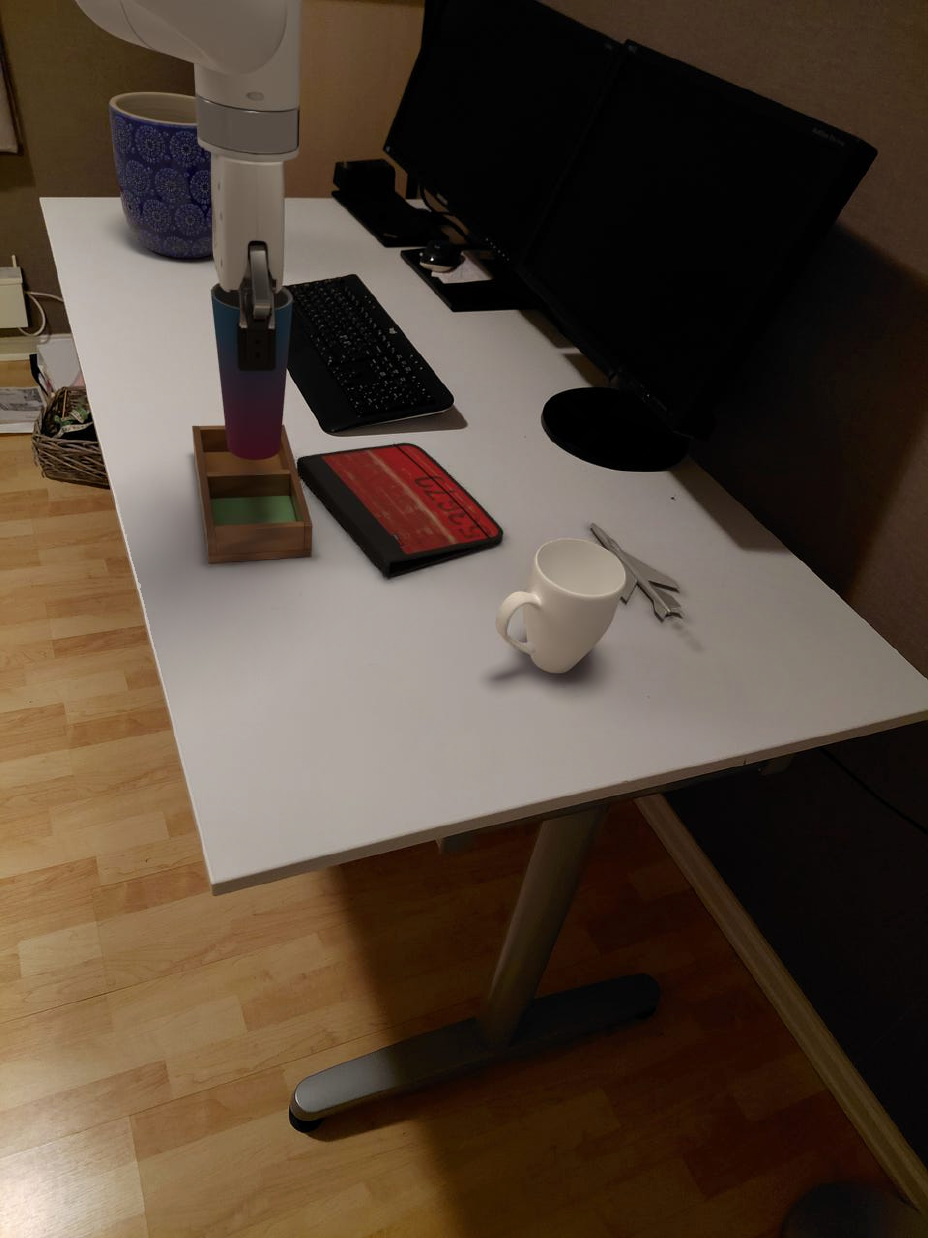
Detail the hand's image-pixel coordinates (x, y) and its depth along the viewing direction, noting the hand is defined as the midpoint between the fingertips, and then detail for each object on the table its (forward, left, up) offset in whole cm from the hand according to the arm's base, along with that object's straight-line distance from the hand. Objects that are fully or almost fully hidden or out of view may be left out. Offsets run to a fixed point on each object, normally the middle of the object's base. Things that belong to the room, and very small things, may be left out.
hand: (252, 349), depth 75 cm
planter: (-3, +80, -20) cm, 82 cm away
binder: (+16, +3, -20) cm, 26 cm away
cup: (0, 0, -10) cm, 10 cm away
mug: (+23, -23, -20) cm, 39 cm away
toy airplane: (+39, -13, -20) cm, 46 cm away
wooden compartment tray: (0, +5, -20) cm, 21 cm away
